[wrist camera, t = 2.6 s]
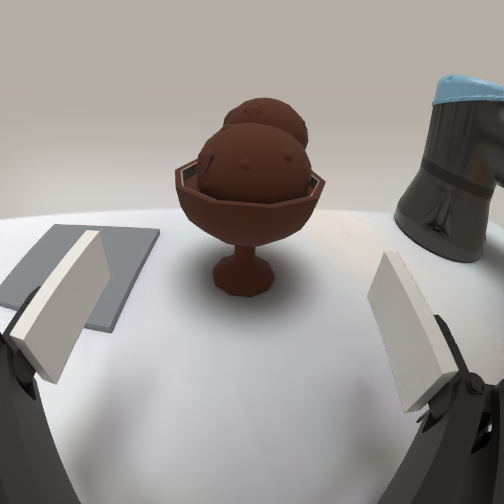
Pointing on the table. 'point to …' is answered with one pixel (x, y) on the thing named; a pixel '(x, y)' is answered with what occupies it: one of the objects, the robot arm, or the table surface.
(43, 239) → the slate mat
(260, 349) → the table surface
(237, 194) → the ice cream bowl
